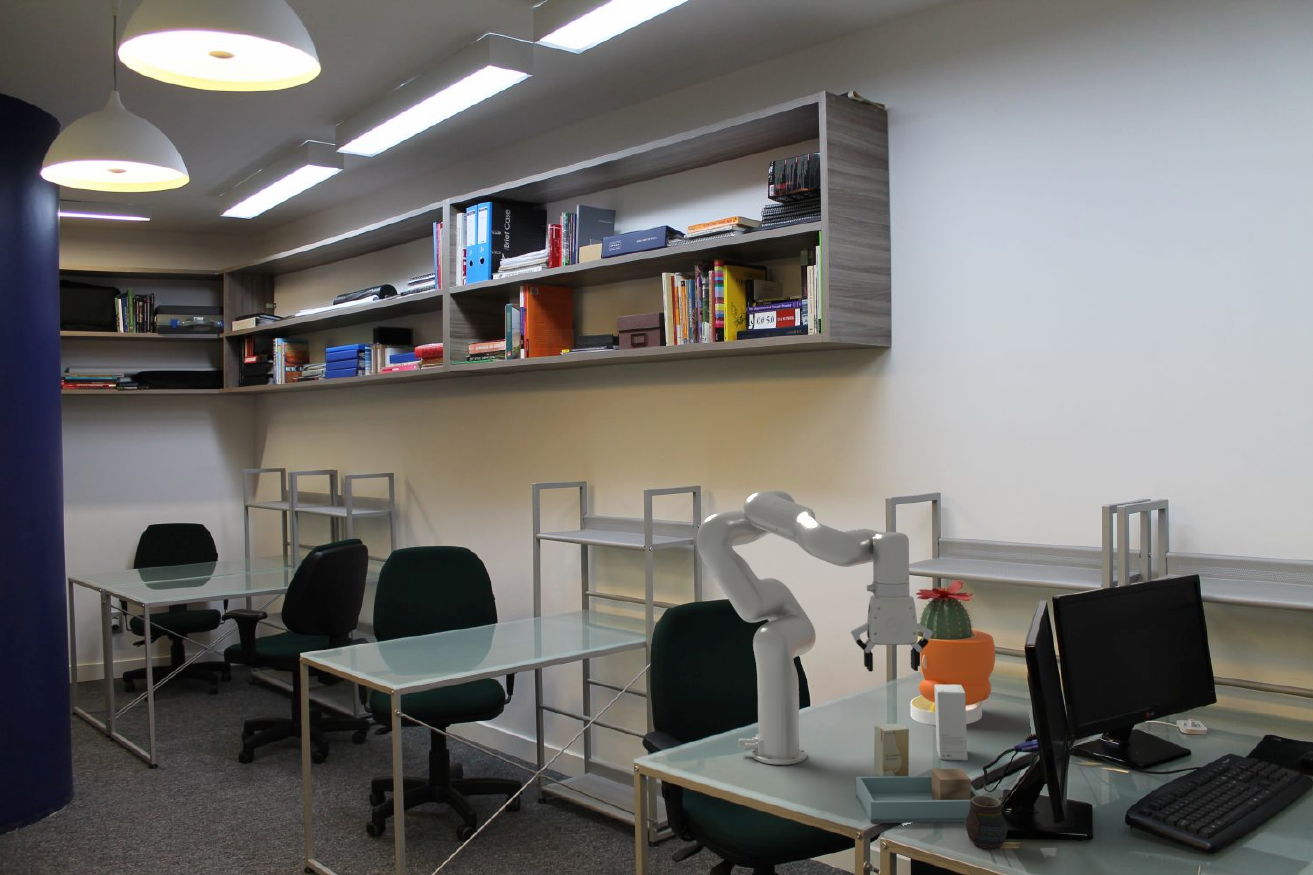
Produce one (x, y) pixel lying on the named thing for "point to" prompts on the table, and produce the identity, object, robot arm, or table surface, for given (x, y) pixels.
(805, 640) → the robot arm
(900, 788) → the teal tray
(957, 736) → the skincare box
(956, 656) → the potted cactus
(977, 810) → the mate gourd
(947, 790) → the walnut block
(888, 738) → the skincare box
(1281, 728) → the table surface
